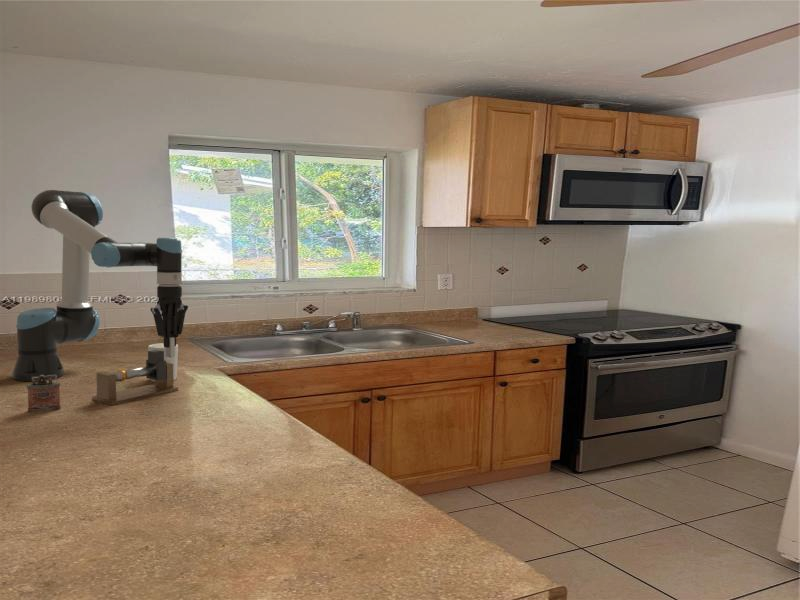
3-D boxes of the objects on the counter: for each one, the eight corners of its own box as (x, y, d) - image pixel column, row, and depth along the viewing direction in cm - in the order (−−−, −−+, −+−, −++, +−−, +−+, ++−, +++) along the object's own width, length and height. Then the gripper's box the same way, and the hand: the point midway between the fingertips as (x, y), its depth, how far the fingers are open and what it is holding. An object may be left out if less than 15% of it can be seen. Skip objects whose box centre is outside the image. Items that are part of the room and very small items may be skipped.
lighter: (27, 413, 168) (26, 377, 167) (28, 410, 171) (27, 375, 170) (60, 410, 171) (59, 375, 170) (60, 407, 174) (60, 372, 173)
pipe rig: (92, 400, 183) (91, 371, 182) (158, 385, 202) (158, 360, 201) (111, 405, 177) (111, 376, 176) (178, 390, 197) (177, 364, 196)
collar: (146, 378, 195) (146, 350, 195) (154, 376, 198) (154, 349, 197) (158, 380, 192) (157, 352, 191) (166, 379, 195) (165, 351, 194)
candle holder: (168, 383, 206) (168, 348, 205) (142, 381, 208) (142, 346, 207) (184, 377, 215) (183, 343, 214) (159, 375, 217) (158, 342, 216)
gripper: (159, 287, 189) (160, 361, 191) (193, 285, 200) (194, 355, 202) (144, 285, 193) (145, 358, 195) (178, 283, 204) (179, 352, 206)
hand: (170, 356), depth 199 cm, fingers closed
